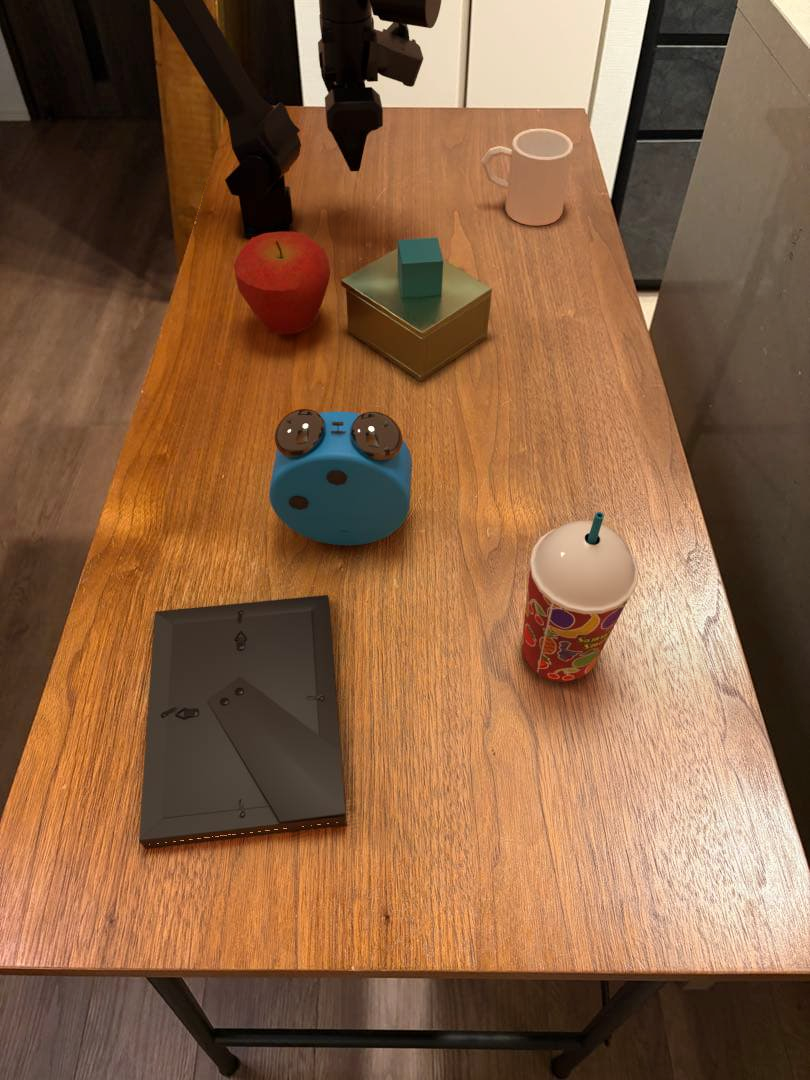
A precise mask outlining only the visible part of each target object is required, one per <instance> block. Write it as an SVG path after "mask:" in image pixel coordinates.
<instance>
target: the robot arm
mask: <svg viewBox="0 0 810 1080" xmlns="http://www.w3.org/2000/svg"><path fill="white" fill-rule="evenodd" d="M152 1H153V3H154V4H155V5H156V7H157V8H158V10H159V11H160V13H161V15H162V17H163V18H164V19H165V21H166V22H167V25H168V26H169V28H170V29H171V31H172V32H173V34H174V36H175V38H176V39H177V40H178V42H179V44H180V45H181V46H182V49H183V50H184V52H185V53H186V55H187V57H188V58H189V60H190V61H191V63H192V65H193V67H194V69H196V71H197V72H198V74H199V77H200V78H201V80H202V81H203V83H204V84H205V86H206V87H207V90H209V92H210V94H211V96H212V97H213V99H214V101H215V102H216V104H217V105H218V107H219V108H220V110H221V112H222V113H223V115H224V116H225V119H226V122H227V125H228V132H229V137H230V144H231V149H232V151H233V153H234V155H235V157H236V160H237V162H238V165H237V166H236V167H235V168H234V169H233V170H232V171H231V172H230V174H228V176H227V177H226V178H225V179H224V180H225V181H224V182H225V184H226V186H227V188H228V190H229V193H230V194H231V195H232V196H235V197H238V201H239V208H240V214H241V220H242V237H244V238H246V239H247V238H253V237H256V236H259V235H261V234H264V233H272V232H292V231H291V225H293V224H294V213H293V204H292V195H291V194H292V193H291V186H289V185H286V180H285V174H287V173H288V172H289V171H290V169H291V167H292V166H293V165H294V164H295V163H296V161H297V160H298V159H299V157H300V154H301V147H302V143H301V142H302V141H301V139H300V137H299V133H300V131H301V130H300V128H299V127H298V126H297V125H296V124H295V123H294V122H293V120H292V119H291V116H290V114H289V112H288V109H287V107H286V106H285V104H283V102H278V103H277V104H276V105H275V106H273V105H271V104H270V103H269V102H267V101H266V100H265V99H263V98H262V97H261V96H260V94H259V93H258V92H257V90H256V88H255V87H254V84H253V83H252V82H251V80H250V78H249V76H248V74H247V72H246V71H245V70H244V68H243V66H242V64H241V63H240V61H239V59H238V57H237V56H236V54H235V52H234V51H233V49H232V47H231V45H230V44H229V42H228V41H227V39H226V37H225V35H224V33H223V31H222V30H221V28H220V27H219V25H218V23H217V21H216V20H215V18H214V16H213V15H212V13H211V11H210V9H209V8H208V6H207V4H206V3H205V1H204V0H152ZM442 2H443V1H442V0H318V6H319V7H318V8H319V16H318V17H319V28H320V36H321V38H320V40H318V42H317V49H318V50H317V51H318V63H319V68H320V75H321V79H322V81H323V84H324V86H325V89H326V91H327V94H326V95H325V96H324V107H325V108H324V109H325V119H326V126H327V129H328V131H329V133H330V134H331V135H332V137H333V140H334V141H335V143H336V145H337V147H338V149H339V150H340V151H339V152H340V153H341V155H342V157H343V159H344V161H345V163H346V165H347V167H348V169H349V171H350V172H359V171H360V169H361V165H362V161H363V155H364V151H365V147H366V142H367V138H368V135H369V134H370V133H371V132H373V131H377V130H378V129H380V128H381V127H382V128H383V126H384V119H383V118H384V117H383V116H384V110H383V105H382V100H381V95H380V94H379V93H378V92H377V91H376V90H375V89H374V88H373V87H372V86H366V82H368V83H371V82H372V83H374V82H379V75H380V76H382V77H384V78H387V79H391V80H393V81H397V82H400V83H402V84H403V86H406V87H408V88H409V87H410V88H413V87H414V86H415V84H416V81H417V78H418V75H419V73H420V69H421V67H422V64H423V63H424V62H423V61H424V54H423V52H422V48H421V46H420V45H419V44H418V43H417V41H416V39H414V38H412V39H411V40H410V31H409V26H414V27H420V28H426V29H432V28H434V27H435V25H436V23H437V20H438V17H439V16H440V15H439V14H440V11H441V6H442ZM373 16H376V17H378V19H379V20H380V21H383V22H387V23H388V22H389V23H391V24H390V25H389V26H388V27H387V28H386V29H385V28H383V29H382V30H379V29H376V28H375V20H374V17H373Z"/></svg>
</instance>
